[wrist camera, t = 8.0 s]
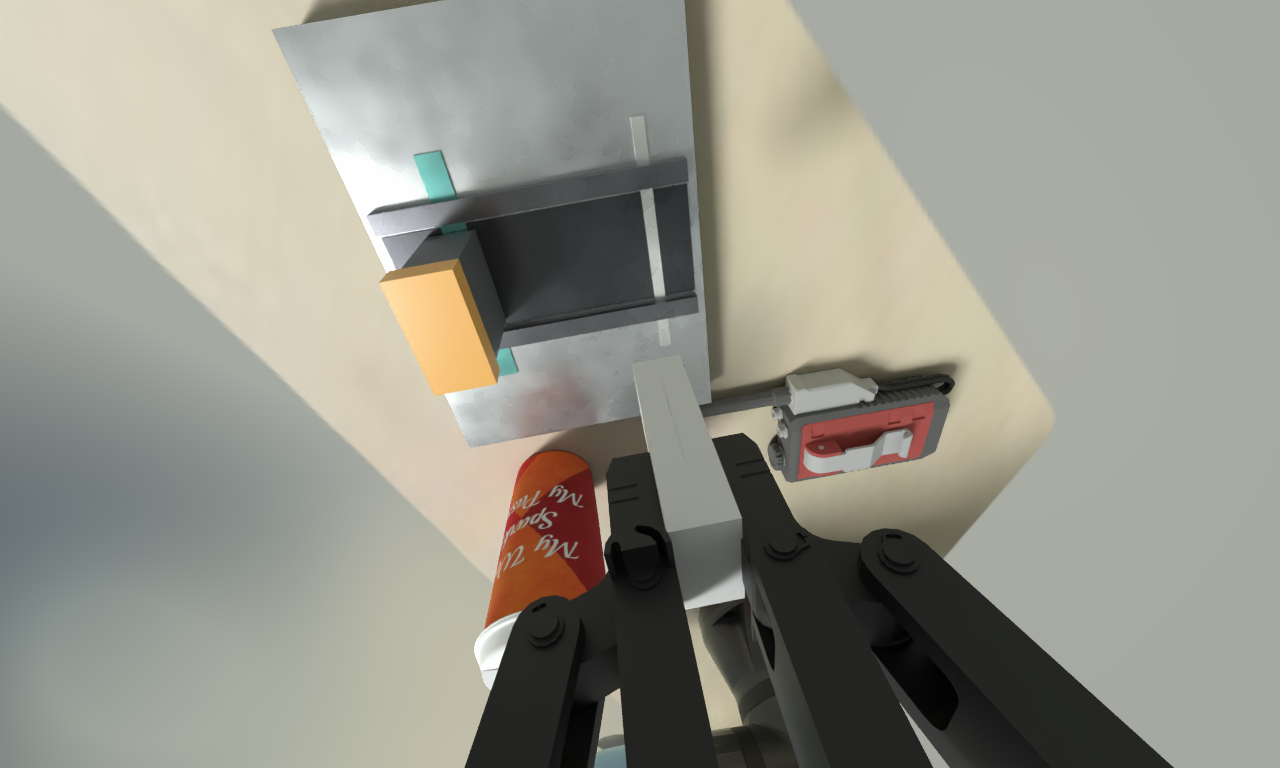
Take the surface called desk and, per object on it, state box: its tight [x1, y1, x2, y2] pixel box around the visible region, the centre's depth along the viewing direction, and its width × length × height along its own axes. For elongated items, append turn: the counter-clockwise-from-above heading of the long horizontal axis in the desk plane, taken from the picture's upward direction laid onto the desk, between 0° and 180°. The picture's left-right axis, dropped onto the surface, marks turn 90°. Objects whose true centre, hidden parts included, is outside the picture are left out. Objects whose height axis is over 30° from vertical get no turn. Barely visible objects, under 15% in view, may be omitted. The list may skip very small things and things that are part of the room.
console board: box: [272, 0, 712, 448], centre depth 25 cm, size 22×16×3 cm
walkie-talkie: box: [699, 368, 955, 483], centre depth 34 cm, size 9×4×20 cm
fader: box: [379, 229, 506, 396], centre depth 22 cm, size 5×3×6 cm, turn 8°
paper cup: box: [474, 450, 606, 690], centre depth 30 cm, size 8×8×14 cm
